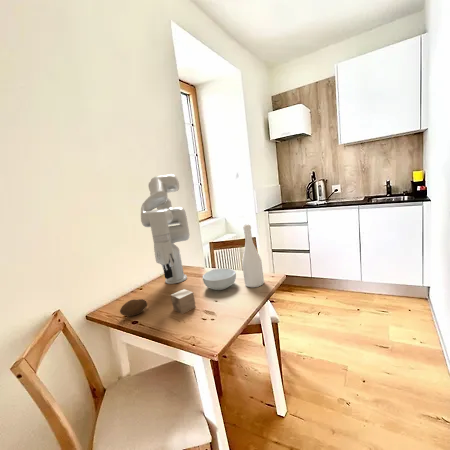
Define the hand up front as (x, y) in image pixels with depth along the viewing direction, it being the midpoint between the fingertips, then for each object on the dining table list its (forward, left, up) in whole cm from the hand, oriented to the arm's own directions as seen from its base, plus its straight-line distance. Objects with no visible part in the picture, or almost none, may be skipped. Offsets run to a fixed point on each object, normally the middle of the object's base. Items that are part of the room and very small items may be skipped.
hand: (169, 277), depth 117 cm
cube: (+8, 0, -13) cm, 15 cm away
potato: (-7, -16, -13) cm, 21 cm away
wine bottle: (+18, +35, -13) cm, 42 cm away
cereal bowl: (+5, +24, -13) cm, 28 cm away
